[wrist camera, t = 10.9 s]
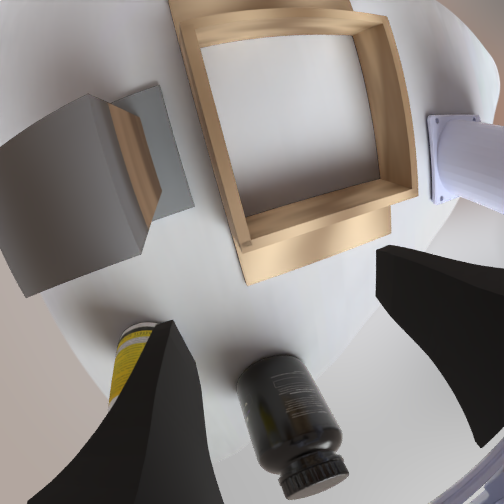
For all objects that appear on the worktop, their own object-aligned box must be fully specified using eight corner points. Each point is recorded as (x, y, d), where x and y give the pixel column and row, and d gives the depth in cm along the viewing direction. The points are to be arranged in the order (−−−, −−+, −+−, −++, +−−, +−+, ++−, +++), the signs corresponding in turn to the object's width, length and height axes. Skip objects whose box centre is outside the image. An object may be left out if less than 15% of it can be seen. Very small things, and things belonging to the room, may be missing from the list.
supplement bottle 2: (219, 386, 23) (251, 506, 12) (274, 341, 22) (336, 466, 11) (268, 406, 26) (307, 502, 15) (317, 367, 25) (376, 464, 14)
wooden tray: (341, -14, 12) (367, -31, 9) (389, 232, 21) (417, 248, 17) (166, -5, 10) (165, -32, 7) (246, 283, 19) (259, 313, 16)
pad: (159, 86, 13) (159, 84, 12) (194, 205, 16) (194, 206, 16) (47, 136, 12) (44, 136, 12) (86, 245, 15) (84, 247, 15)
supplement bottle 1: (106, 348, 19) (89, 456, 10) (144, 307, 18) (133, 428, 9) (160, 379, 21) (166, 481, 12) (201, 344, 20) (222, 456, 12)
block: (139, 117, 13) (87, 93, 5) (162, 191, 15) (141, 254, 7) (70, 147, 12) (-27, 169, 4) (94, 217, 14) (25, 298, 6)
